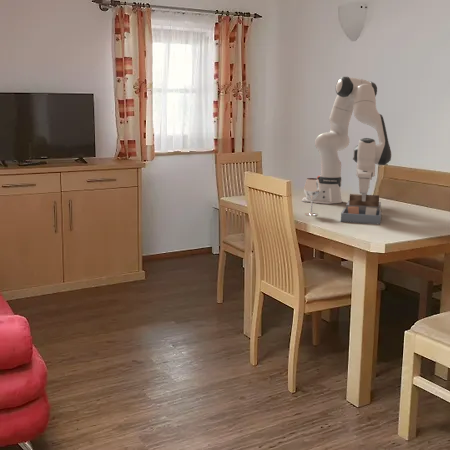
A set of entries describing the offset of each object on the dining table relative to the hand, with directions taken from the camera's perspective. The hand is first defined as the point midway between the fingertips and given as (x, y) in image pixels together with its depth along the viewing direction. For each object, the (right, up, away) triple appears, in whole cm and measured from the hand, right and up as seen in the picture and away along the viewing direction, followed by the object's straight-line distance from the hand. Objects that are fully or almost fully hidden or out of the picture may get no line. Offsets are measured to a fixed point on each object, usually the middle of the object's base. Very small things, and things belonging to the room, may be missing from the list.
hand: (364, 200), depth 298 cm
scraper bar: (0, -2, +1) cm, 2 cm away
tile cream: (+3, -6, -3) cm, 7 cm away
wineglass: (-25, -7, +7) cm, 27 cm away
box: (-3, -10, -6) cm, 12 cm away
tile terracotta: (-5, -6, -2) cm, 8 cm away
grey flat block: (+1, -7, +7) cm, 10 cm away
